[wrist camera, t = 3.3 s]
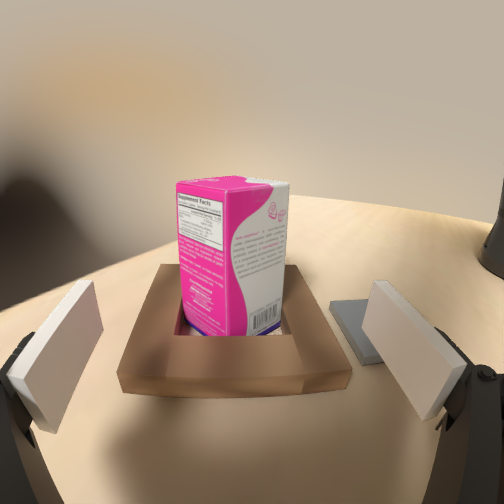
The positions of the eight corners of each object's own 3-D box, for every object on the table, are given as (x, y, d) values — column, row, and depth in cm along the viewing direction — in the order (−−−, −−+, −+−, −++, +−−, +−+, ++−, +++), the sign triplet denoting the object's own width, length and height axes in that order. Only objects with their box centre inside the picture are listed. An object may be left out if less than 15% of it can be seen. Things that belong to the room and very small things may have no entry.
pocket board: (294, 280, 32) (295, 264, 31) (345, 388, 17) (352, 368, 16) (162, 279, 30) (160, 263, 30) (123, 392, 16) (116, 372, 15)
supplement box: (233, 299, 28) (237, 173, 24) (281, 326, 24) (295, 183, 20) (180, 320, 24) (174, 178, 20) (227, 357, 20) (230, 189, 16)
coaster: (399, 303, 27) (401, 297, 27) (442, 350, 20) (445, 342, 20) (328, 308, 27) (330, 301, 26) (361, 365, 19) (364, 357, 19)
